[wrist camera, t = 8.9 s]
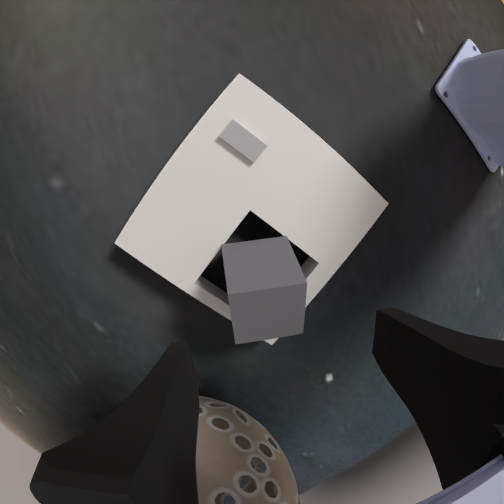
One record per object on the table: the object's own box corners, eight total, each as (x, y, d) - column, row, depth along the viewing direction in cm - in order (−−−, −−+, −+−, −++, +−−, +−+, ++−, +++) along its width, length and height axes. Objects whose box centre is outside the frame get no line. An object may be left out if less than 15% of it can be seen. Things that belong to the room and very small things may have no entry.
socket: (375, 199, 20) (391, 204, 18) (267, 331, 22) (272, 347, 20) (236, 80, 17) (239, 72, 15) (122, 235, 19) (112, 244, 17)
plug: (283, 229, 19) (307, 282, 15) (283, 277, 21) (303, 333, 17) (220, 237, 19) (227, 294, 14) (227, 285, 21) (235, 344, 17)
